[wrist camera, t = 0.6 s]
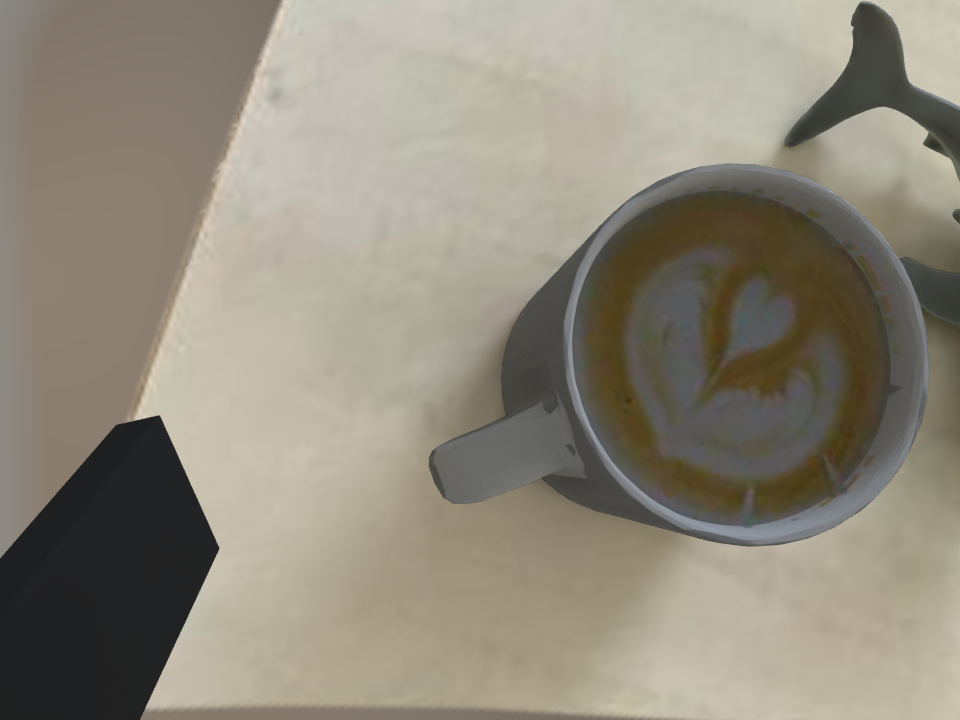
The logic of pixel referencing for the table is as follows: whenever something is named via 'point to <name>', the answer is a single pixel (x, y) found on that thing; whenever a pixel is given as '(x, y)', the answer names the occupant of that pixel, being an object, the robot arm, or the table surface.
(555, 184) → the table surface
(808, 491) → the coffee mug
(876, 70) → the shark figurine
